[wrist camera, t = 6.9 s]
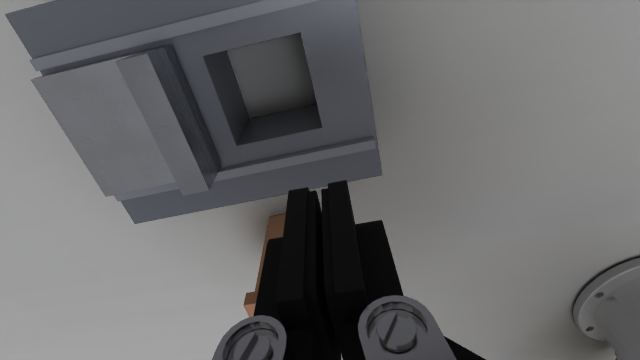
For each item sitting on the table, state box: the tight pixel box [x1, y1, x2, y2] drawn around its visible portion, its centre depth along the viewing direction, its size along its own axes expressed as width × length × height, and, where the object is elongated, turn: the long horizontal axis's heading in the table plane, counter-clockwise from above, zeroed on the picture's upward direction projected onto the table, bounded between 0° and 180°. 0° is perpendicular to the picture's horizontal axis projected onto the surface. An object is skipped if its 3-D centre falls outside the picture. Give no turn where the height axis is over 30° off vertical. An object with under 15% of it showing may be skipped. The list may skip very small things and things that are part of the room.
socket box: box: [5, 0, 382, 224], centre depth 22 cm, size 14×18×6 cm
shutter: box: [31, 44, 221, 197], centre depth 19 cm, size 8×8×3 cm
